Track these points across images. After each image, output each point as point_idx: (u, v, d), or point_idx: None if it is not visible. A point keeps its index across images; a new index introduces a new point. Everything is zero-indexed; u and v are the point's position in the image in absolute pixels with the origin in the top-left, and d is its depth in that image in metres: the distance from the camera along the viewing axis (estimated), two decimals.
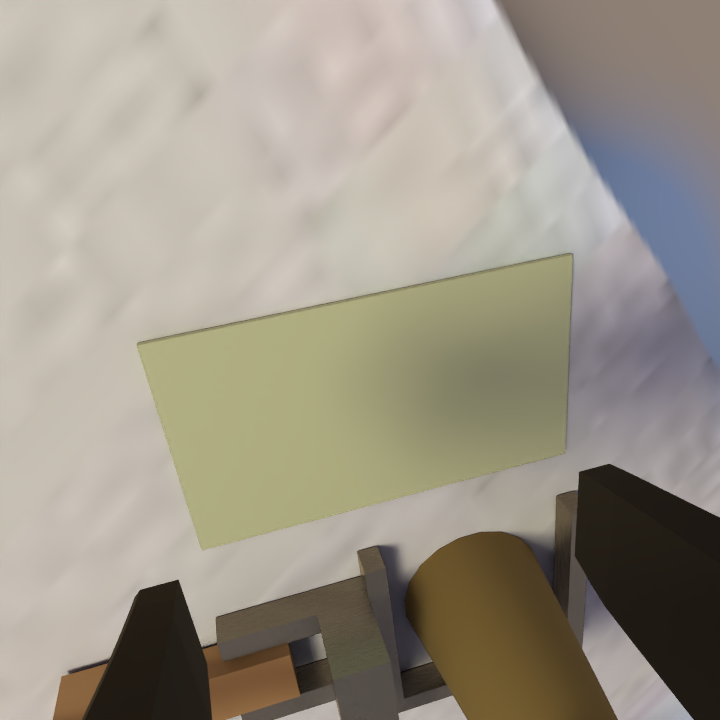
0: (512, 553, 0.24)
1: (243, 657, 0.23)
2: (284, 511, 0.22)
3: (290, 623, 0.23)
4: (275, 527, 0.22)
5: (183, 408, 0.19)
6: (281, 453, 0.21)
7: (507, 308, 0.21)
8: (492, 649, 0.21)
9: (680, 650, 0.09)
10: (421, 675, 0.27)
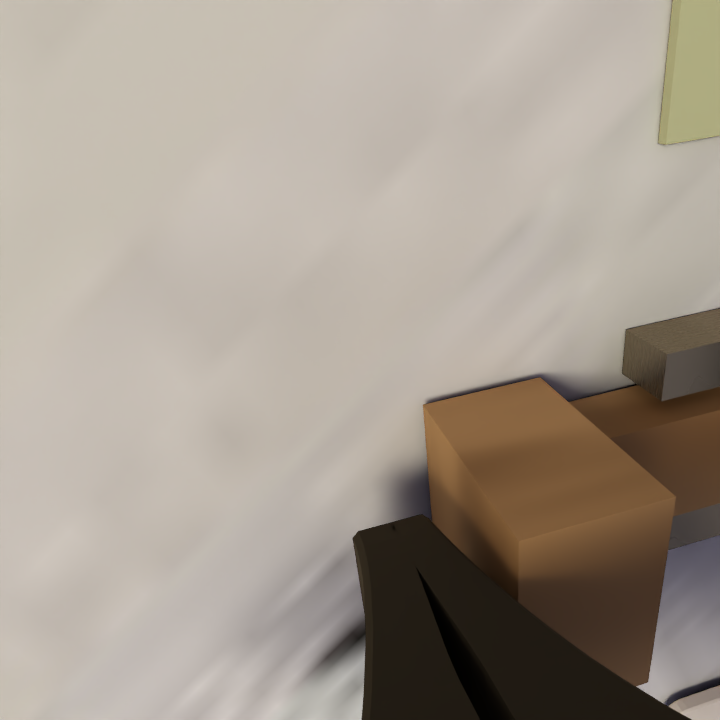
0: None
1: None
2: None
3: None
4: None
5: None
6: None
7: None
8: None
9: None
10: None
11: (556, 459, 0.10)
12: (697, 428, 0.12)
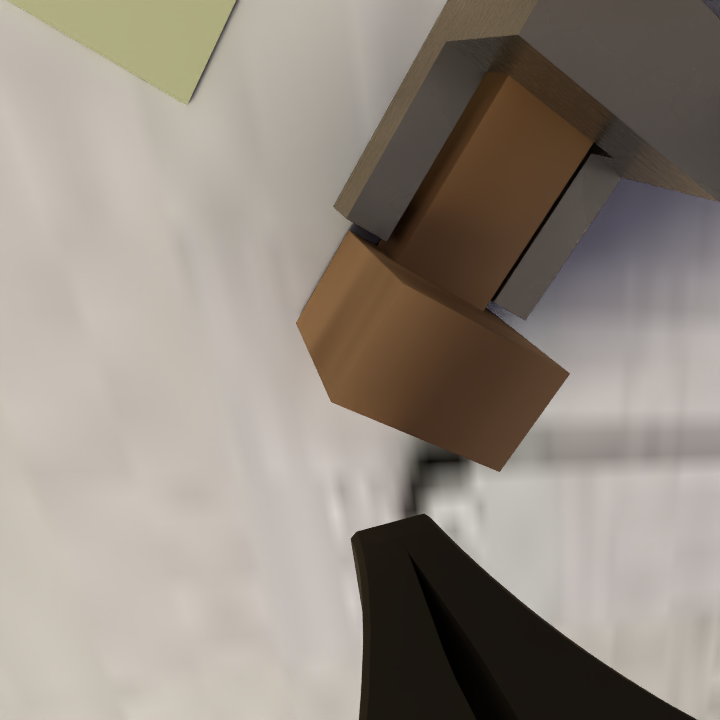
0: None
1: (495, 78, 0.12)
2: None
3: (419, 93, 0.12)
4: None
5: None
6: None
7: None
8: None
9: None
10: None
11: (351, 308, 0.12)
12: (476, 155, 0.12)
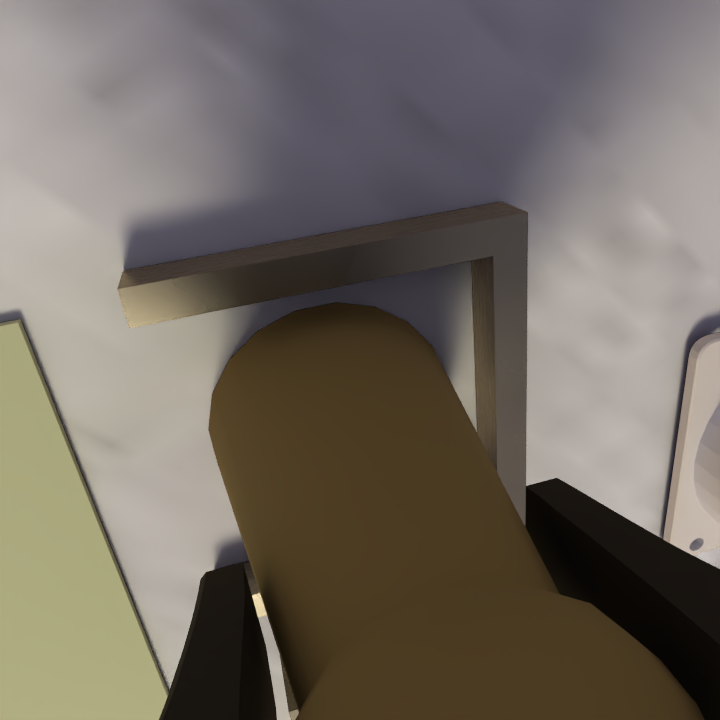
0: (223, 416, 0.13)
1: None
2: (133, 686, 0.17)
3: None
4: (160, 689, 0.17)
5: None
6: (38, 706, 0.17)
7: None
8: None
9: None
10: None
11: None
12: None
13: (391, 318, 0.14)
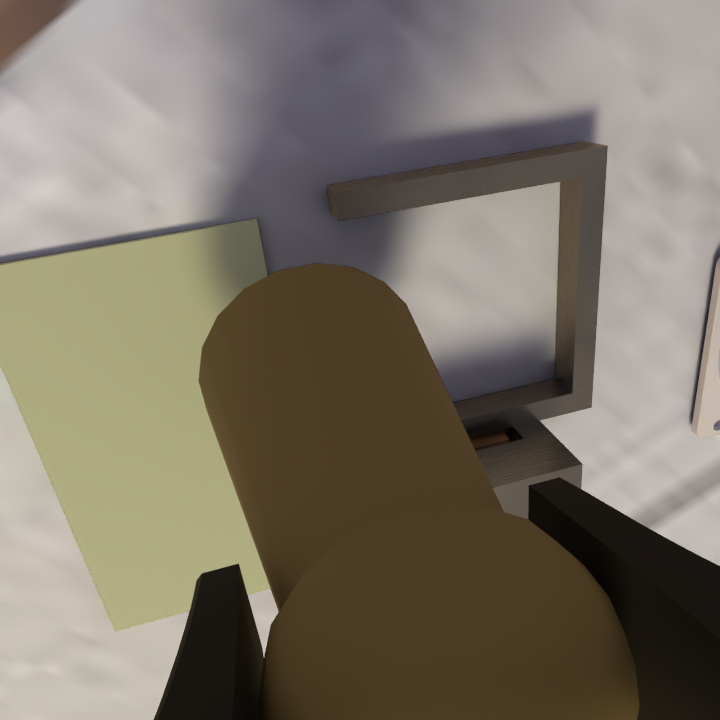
0: (212, 367, 0.15)
1: None
2: None
3: None
4: None
5: (174, 599, 0.23)
6: (226, 527, 0.22)
7: (45, 339, 0.18)
8: None
9: None
10: (561, 358, 0.22)
11: None
12: None
13: (368, 278, 0.15)
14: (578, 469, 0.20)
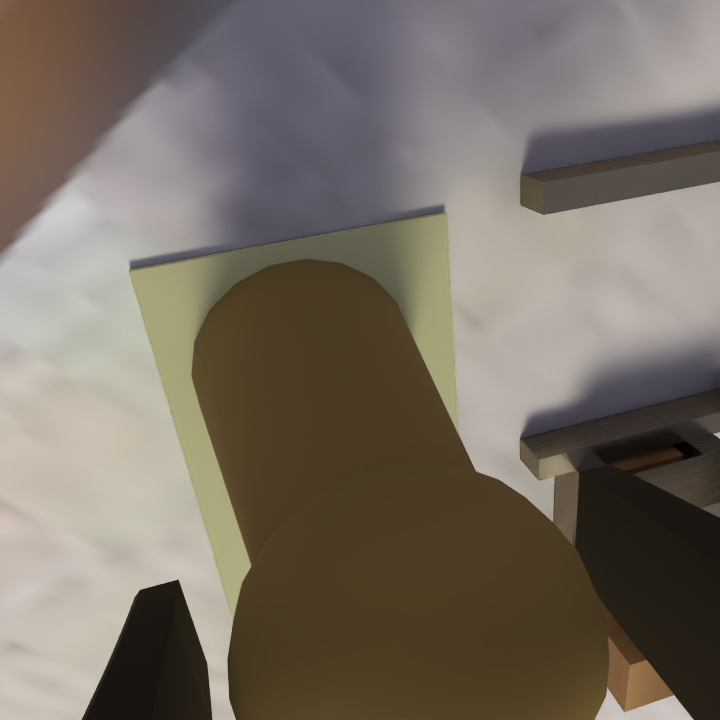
0: (202, 358, 0.15)
1: None
2: None
3: (573, 541, 0.21)
4: None
5: None
6: None
7: None
8: None
9: (681, 651, 0.09)
10: None
11: None
12: None
13: (357, 273, 0.16)
14: None
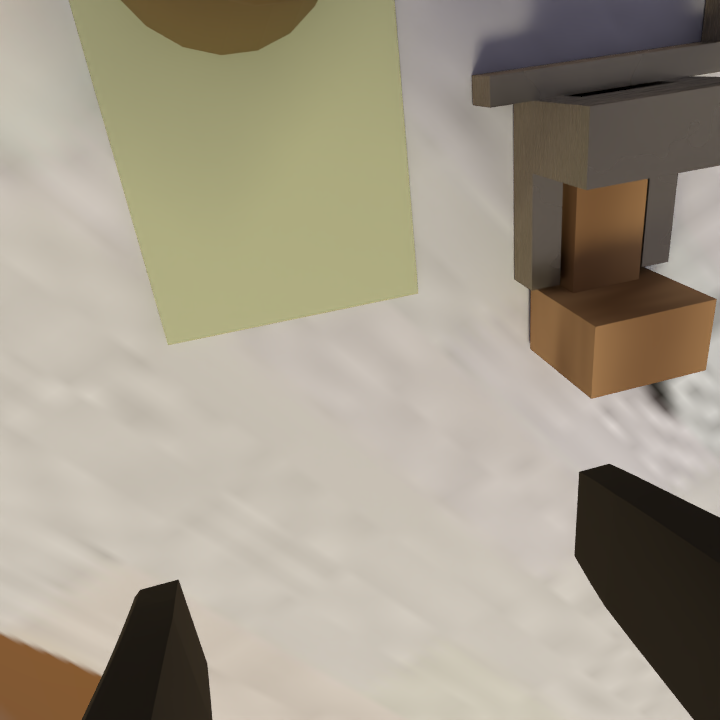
0: None
1: None
2: (387, 202, 0.19)
3: (533, 206, 0.19)
4: (407, 213, 0.19)
5: (240, 306, 0.19)
6: (307, 206, 0.18)
7: None
8: None
9: (680, 650, 0.09)
10: (716, 2, 0.18)
11: (568, 340, 0.19)
12: (585, 212, 0.19)
13: None
14: None
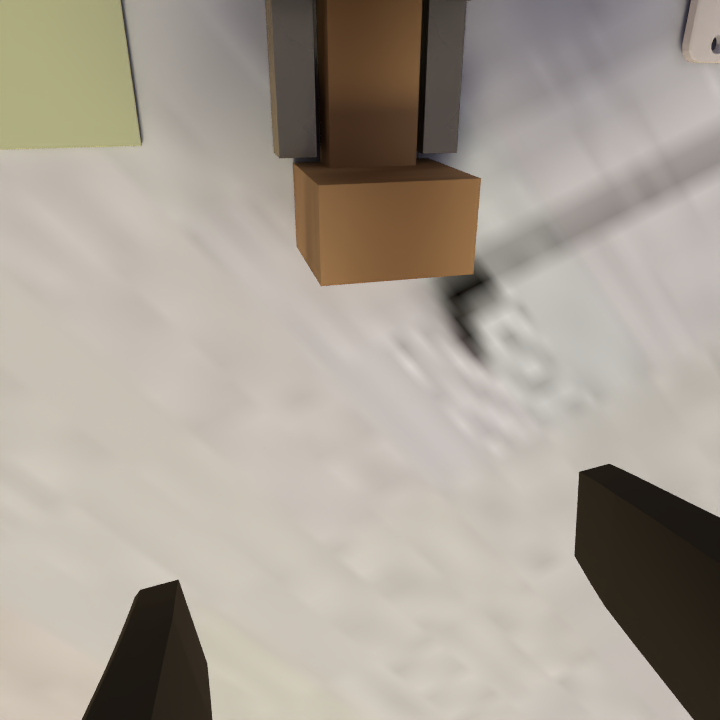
0: None
1: None
2: (89, 11, 0.15)
3: (275, 43, 0.15)
4: (119, 32, 0.15)
5: None
6: None
7: None
8: None
9: (680, 650, 0.09)
10: None
11: (309, 218, 0.16)
12: (339, 59, 0.15)
13: None
14: None
